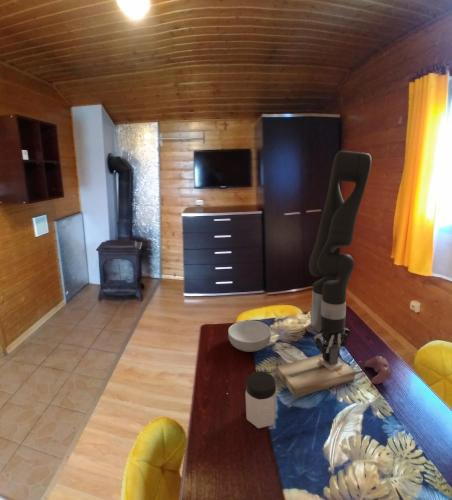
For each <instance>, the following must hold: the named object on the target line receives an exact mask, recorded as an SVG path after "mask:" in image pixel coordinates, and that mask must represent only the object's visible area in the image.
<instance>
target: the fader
mask: <svg viewBox="0 0 452 500" xmlns="http://www.w3.org/2000/svg"><path fill="white" fill-rule="evenodd" d="M338 351H339V347H338V346H336V345H335V344H334V343H333V342H332V346H331V347H330V350H329V362H326V361H325V360H324V359H323V358H322V357H320V358H319V361H320V362H321V363H322V364H323V365H324V366H325V367H326V368H327V369H328V370H329V371H332V370H335V369H338V368H342V367H343V364H342V363H340V362H339V361H338Z"/></svg>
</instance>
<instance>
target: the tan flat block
mask: <svg viewBox="0 0 452 500" xmlns="http://www.w3.org/2000/svg"><path fill="white" fill-rule="evenodd" d="M322 354H323V353H320V354H317V355H313V356H310V357H305V358H303V359H302V358H301V359H298V360H296V361H291V362H288V363H284V364H281V365H278V366H276V375H277V376H278V378H280V380H281V381H282V382H283V384H284V386H286V387H287V389H288V391H289V392H291V394H292V395H293V397H294V398H295V399H297V398H300V397H304V396H307V395H310V394H313V393H315V392H316V393H317V392H320V391H322V390H325V389H329V388H332V387H335V386H338V385H341V384H344V383H347V382H350V381H354V380H355V378H356V371H355V370H354V369H352V367H350V366H349V365H348V364H347V363H346V362H344V360H342V359H341V358H340V356H339V357H338V361H339V362H340V363H342V364H343V367H342V368H338V369H335V370H332V371H329V370H328V369H327V368H326V367H325V366H324V365H323V364H322V363H321V362H320V361H319V358H320V357H322Z"/></svg>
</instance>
